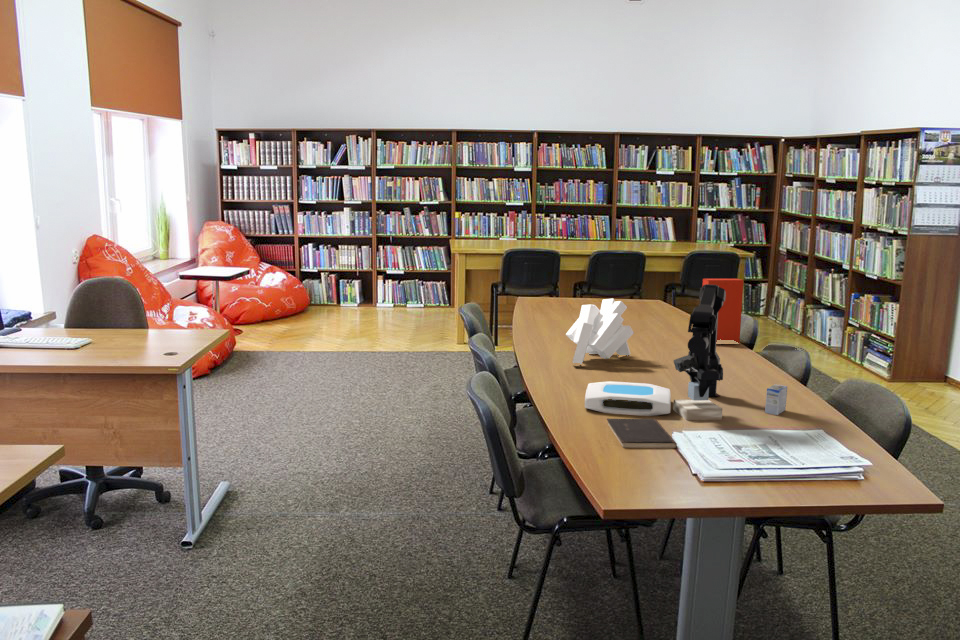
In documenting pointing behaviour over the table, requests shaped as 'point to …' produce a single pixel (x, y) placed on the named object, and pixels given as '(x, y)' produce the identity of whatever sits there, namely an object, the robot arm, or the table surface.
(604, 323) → the pile of blocks
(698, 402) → the cream block
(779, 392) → the medicine box
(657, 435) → the hardcover book
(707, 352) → the robot arm
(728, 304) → the file binder
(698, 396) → the grey cube
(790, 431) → the table surface
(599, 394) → the document scanner
